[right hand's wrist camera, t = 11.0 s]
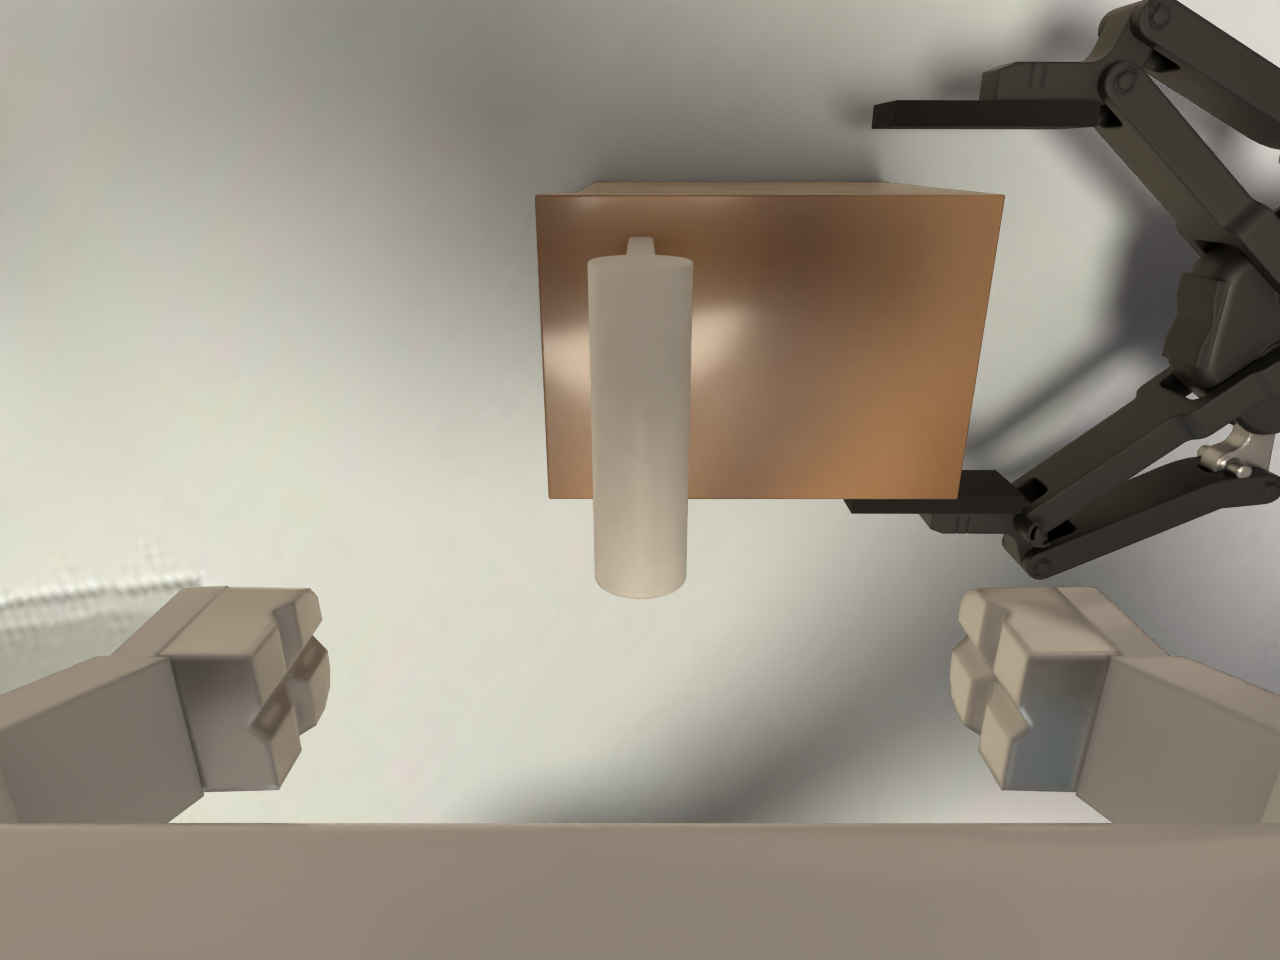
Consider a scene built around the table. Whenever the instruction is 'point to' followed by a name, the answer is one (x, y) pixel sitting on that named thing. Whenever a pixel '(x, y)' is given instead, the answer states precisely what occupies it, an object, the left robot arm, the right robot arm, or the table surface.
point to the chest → (761, 187)
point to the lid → (754, 354)
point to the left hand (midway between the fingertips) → (860, 319)
